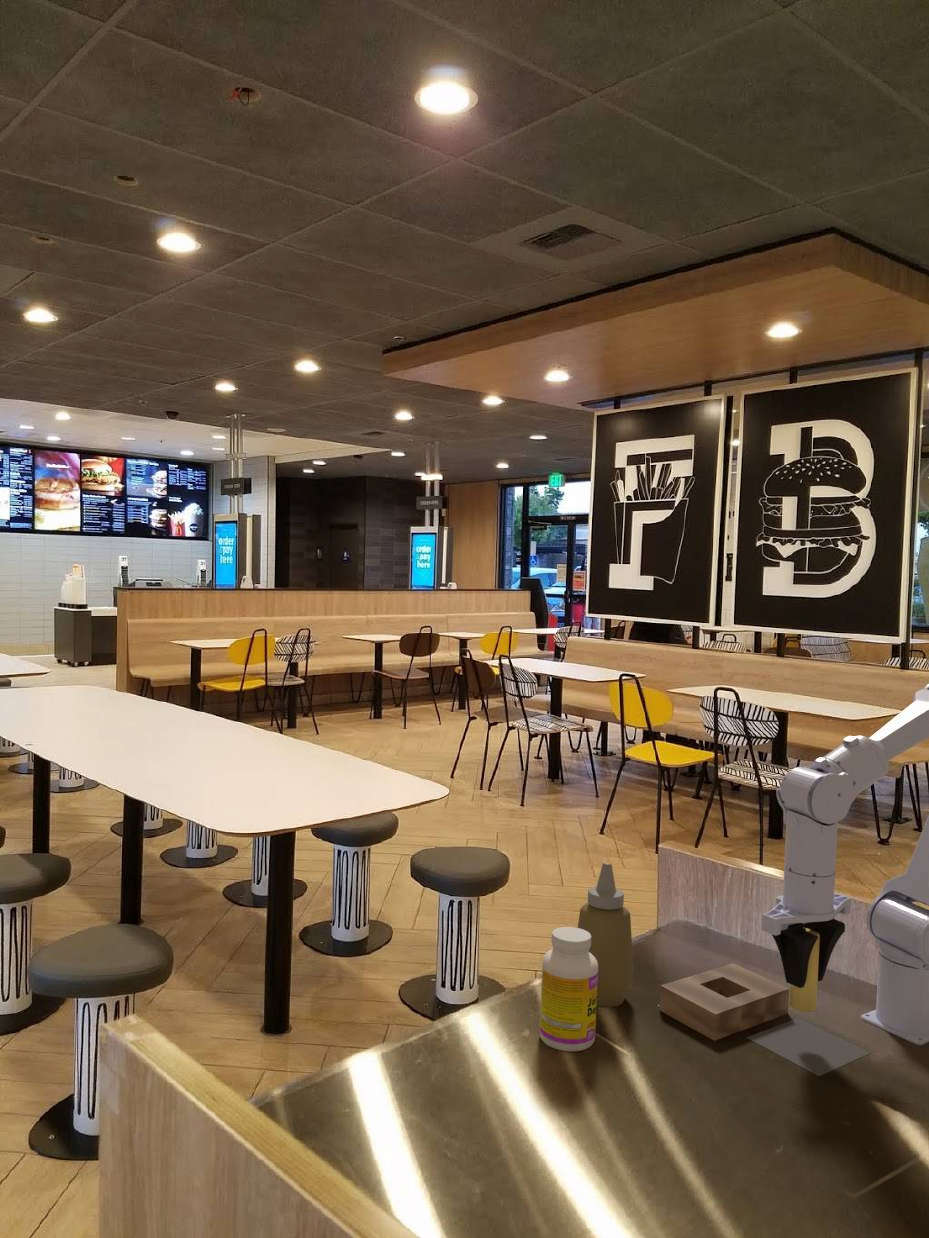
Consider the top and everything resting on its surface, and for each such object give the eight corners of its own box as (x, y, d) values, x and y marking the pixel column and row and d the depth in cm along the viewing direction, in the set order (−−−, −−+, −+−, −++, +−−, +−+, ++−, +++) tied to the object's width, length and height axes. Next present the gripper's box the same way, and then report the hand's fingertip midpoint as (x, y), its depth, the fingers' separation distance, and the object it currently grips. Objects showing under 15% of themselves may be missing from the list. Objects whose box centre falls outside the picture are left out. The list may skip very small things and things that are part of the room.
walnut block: (731, 988, 125) (733, 963, 125) (787, 1015, 118) (789, 988, 118) (659, 1012, 118) (660, 985, 117) (714, 1042, 110) (715, 1014, 110)
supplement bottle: (593, 1057, 106) (597, 947, 105) (536, 1049, 107) (540, 941, 106) (596, 1030, 112) (601, 926, 112) (542, 1023, 113) (546, 920, 113)
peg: (800, 998, 112) (803, 926, 112) (821, 1008, 110) (825, 934, 110) (784, 1003, 111) (788, 930, 110) (806, 1014, 108) (809, 939, 108)
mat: (797, 1020, 117) (798, 1017, 117) (870, 1055, 108) (870, 1052, 108) (746, 1039, 111) (746, 1037, 111) (818, 1078, 103) (818, 1075, 103)
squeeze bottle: (641, 996, 122) (647, 862, 121) (617, 1019, 115) (624, 878, 114) (586, 980, 126) (591, 851, 125) (560, 1001, 119) (565, 865, 119)
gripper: (817, 852, 117) (812, 956, 118) (742, 869, 109) (737, 981, 110) (868, 867, 111) (863, 977, 112) (793, 886, 103) (787, 1005, 104)
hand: (804, 981), depth 110 cm, fingers closed on peg, 3 cm apart
